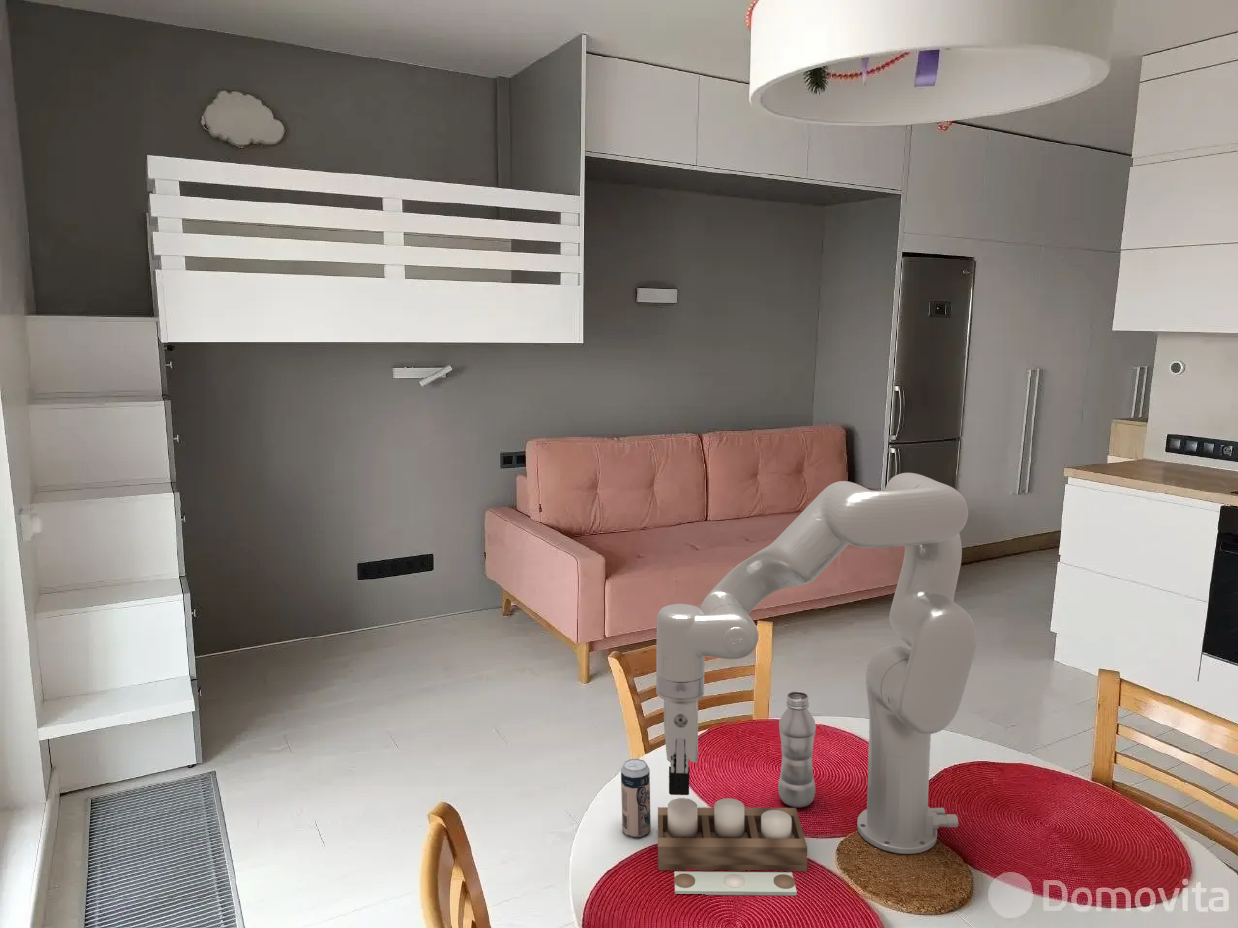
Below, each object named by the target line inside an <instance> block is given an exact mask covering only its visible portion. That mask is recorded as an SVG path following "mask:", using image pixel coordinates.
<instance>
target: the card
mask: <svg viewBox="0 0 1238 928" xmlns="http://www.w3.org/2000/svg"><path fill="white" fill-rule="evenodd" d="M673 871H674V873H673V874H674V875H673V876H674V878H673V883H674V895H675V894H702V895H701V896H703V894H705V895H707V896H785V897H786V896H790V897H793V896H795V897H797V895H798V893H797V891H798V890H797V888H796V880H795V878H794V876H793V871H676V870H673ZM705 895H704V896H705Z"/></svg>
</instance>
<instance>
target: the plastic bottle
mask: <svg viewBox="0 0 1238 928" xmlns="http://www.w3.org/2000/svg"><path fill="white" fill-rule="evenodd" d="M809 705H810V703H809V695H808V693H806V692H803V691H797V690H796V691H791V692H789V693H787V695H786V707H787V708H786V709H785V711H784V712H783V713H782V715H781V716H780V719H779V722H778V728H779V729H778V730H779V736H780V743H781V744H780V745H781V767H780V774H779V779H778V785H777V789H778V794H779V798H780V800H781V801H782V802H783V804H785V805H786V806H789V807H790V808H796V809H797V808H805V807H808V806H810V805H811V804H812V802H813V801H814V799H815V796H816V795H815V794H816V783H815V778H814V771H813V770H814V769H813V754H814V752H813V751H814V750H813V749H814V742H815V736H816V729H817V728H816V727H817V723H816V721H815V718H814V717H813V714H811V712H810V711H809V710H808V708H809V707H810V706H809Z"/></svg>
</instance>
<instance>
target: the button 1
mask: <svg viewBox="0 0 1238 928" xmlns="http://www.w3.org/2000/svg"><path fill="white" fill-rule="evenodd" d="M667 807H668V834H669V835H670V836H671V837H672V838H694V837H695V836H696V835H697V833H698V814H697V808H698V804H697V802H696V801H694V800H692V799H690V798H687V797H686V798H685V797H679V798H674V799H672V800H670V801H669V802H668V803H667Z"/></svg>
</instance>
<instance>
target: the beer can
mask: <svg viewBox="0 0 1238 928" xmlns="http://www.w3.org/2000/svg"><path fill="white" fill-rule="evenodd" d="M650 770H651V769H650V767H649V766H648V763H647V762H646V761H645V760H644V759H640V758H630V759H628V760H626V761H624V762H623V765H622V767H621V768H620V780H621V781H620V783H621V785H620V786H621V787H620V788H621V789H620V790H621V793H620V794H621V826H622V827H621V828H622V831H623V833H624V834H625V835H628V836H629V837H632V838H641V837H644V836H645V835H647V834H648V833H650V831H651V830H652V829H651V828H652V827H651V826H652V825H651V781H650V777H651V776H650Z"/></svg>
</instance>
